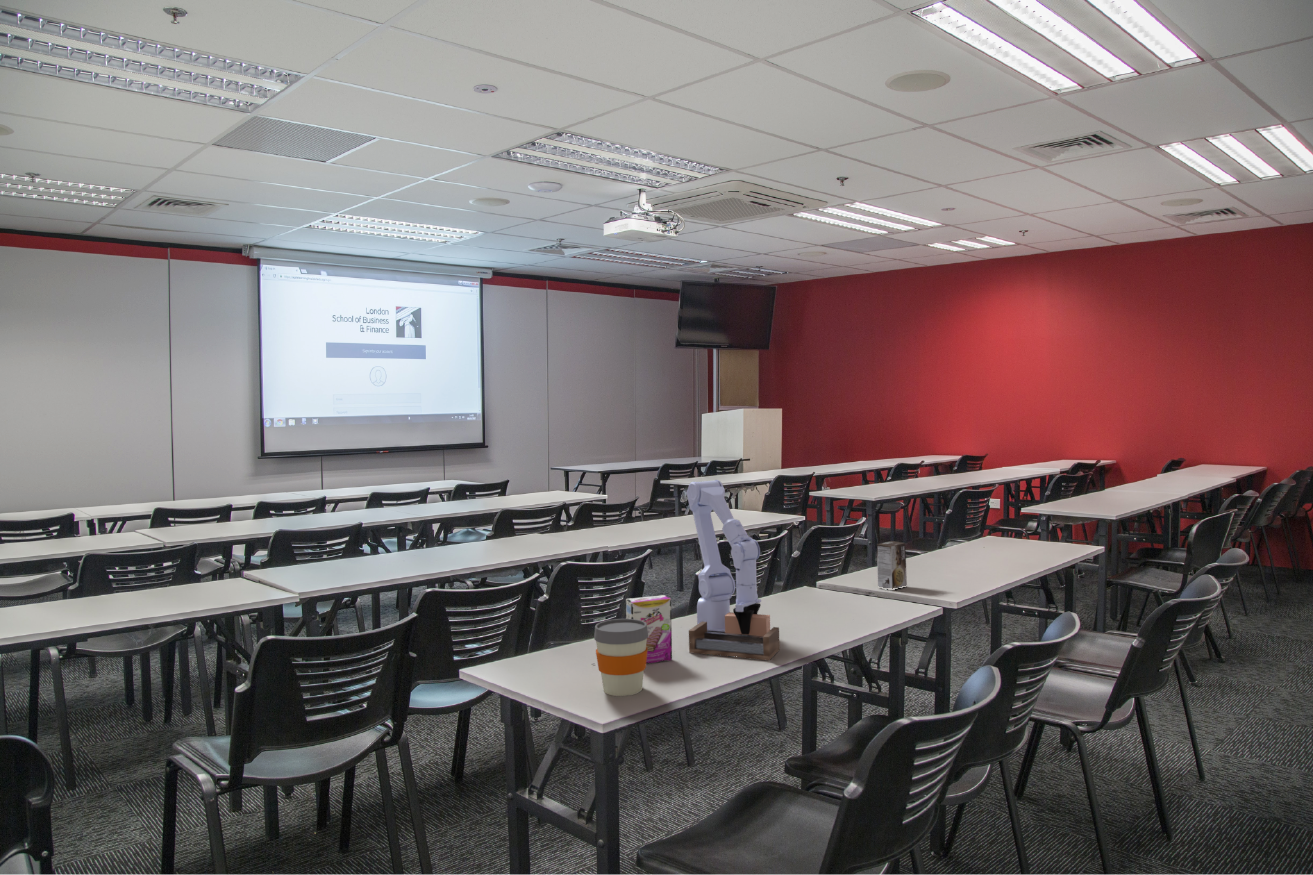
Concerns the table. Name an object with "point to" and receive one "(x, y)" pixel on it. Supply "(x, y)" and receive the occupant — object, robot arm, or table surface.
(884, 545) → the coffee box
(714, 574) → the robot arm
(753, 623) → the salmon orange block
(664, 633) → the candy bar box
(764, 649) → the track base
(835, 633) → the table surface
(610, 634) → the reusable coffee cup
